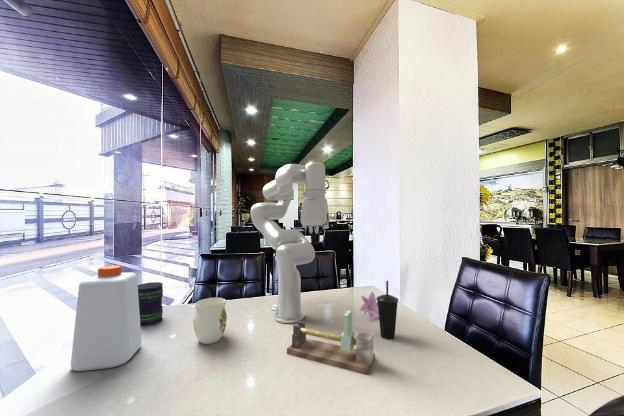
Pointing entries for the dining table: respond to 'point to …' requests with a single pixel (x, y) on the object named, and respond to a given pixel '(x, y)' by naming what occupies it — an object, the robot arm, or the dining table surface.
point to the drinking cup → (387, 314)
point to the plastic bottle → (106, 320)
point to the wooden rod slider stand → (333, 349)
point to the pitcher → (210, 319)
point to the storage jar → (150, 303)
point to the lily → (370, 306)
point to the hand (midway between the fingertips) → (315, 243)
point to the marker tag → (347, 332)
